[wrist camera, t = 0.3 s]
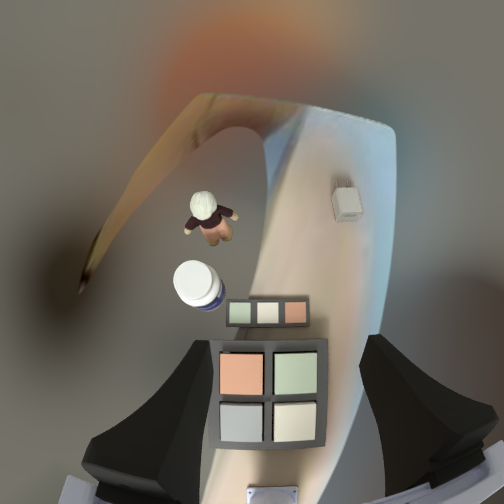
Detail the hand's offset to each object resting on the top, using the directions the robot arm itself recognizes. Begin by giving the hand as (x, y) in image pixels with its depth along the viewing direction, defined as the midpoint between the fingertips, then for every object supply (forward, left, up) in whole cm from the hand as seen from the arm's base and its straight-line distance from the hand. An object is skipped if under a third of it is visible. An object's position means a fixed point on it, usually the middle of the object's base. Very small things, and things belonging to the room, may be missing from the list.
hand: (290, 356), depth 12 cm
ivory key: (-11, -3, -27) cm, 29 cm away
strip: (+5, 0, -28) cm, 29 cm away
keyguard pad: (-7, 0, -28) cm, 29 cm away
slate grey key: (-11, +4, -27) cm, 29 cm away
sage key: (-4, -3, -27) cm, 27 cm away
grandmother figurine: (+17, +8, -29) cm, 34 cm away
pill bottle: (+8, +9, -29) cm, 31 cm away
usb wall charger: (+23, -13, -29) cm, 39 cm away
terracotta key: (-4, +4, -27) cm, 27 cm away
